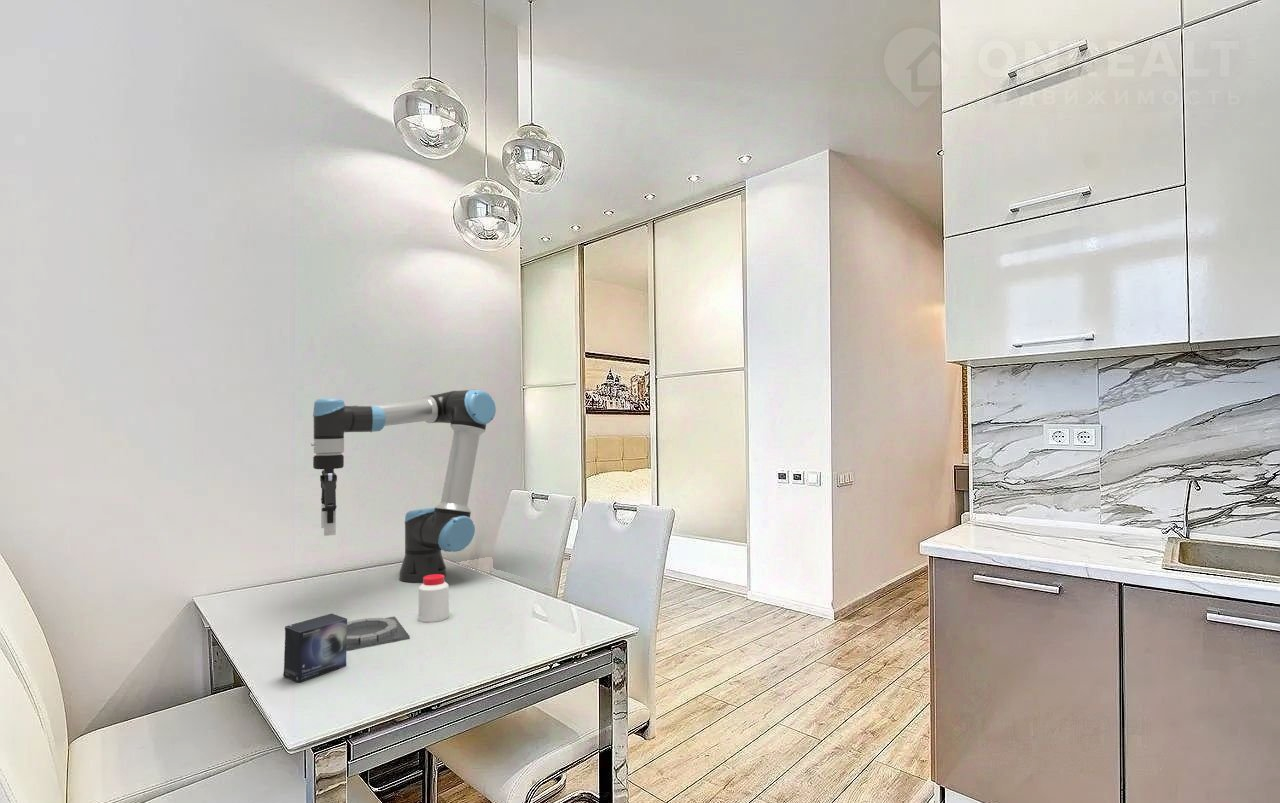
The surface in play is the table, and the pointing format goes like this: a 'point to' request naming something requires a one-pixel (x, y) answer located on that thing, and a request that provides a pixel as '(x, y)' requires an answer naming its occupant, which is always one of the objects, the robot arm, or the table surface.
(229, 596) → the table surface
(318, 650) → the small box
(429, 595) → the pill bottle
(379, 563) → the table surface
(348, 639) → the ring seat
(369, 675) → the table surface
